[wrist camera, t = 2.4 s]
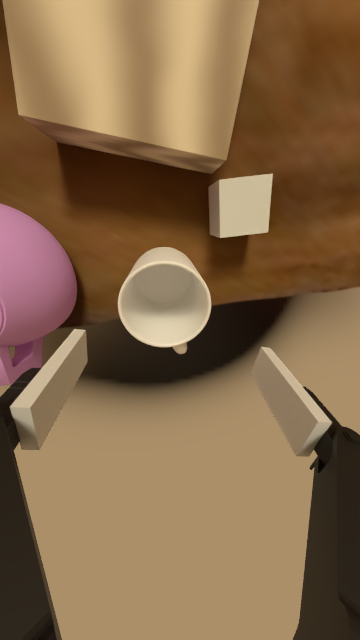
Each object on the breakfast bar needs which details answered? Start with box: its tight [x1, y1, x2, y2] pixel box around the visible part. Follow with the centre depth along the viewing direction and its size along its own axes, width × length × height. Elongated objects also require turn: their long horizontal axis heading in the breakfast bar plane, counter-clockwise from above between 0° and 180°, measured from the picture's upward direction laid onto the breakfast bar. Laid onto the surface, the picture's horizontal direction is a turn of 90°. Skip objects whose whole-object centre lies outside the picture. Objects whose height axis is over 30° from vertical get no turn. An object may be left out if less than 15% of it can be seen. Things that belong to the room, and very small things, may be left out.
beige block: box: [208, 174, 273, 238], centre depth 22 cm, size 5×5×5 cm
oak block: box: [3, 0, 259, 174], centre depth 15 cm, size 16×16×6 cm
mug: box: [118, 247, 211, 354], centre depth 24 cm, size 12×8×10 cm
